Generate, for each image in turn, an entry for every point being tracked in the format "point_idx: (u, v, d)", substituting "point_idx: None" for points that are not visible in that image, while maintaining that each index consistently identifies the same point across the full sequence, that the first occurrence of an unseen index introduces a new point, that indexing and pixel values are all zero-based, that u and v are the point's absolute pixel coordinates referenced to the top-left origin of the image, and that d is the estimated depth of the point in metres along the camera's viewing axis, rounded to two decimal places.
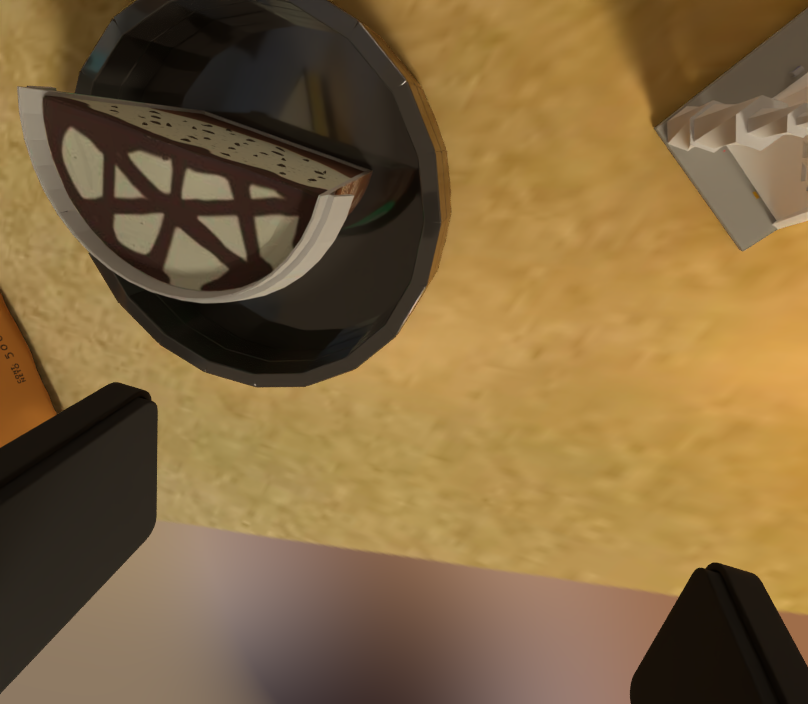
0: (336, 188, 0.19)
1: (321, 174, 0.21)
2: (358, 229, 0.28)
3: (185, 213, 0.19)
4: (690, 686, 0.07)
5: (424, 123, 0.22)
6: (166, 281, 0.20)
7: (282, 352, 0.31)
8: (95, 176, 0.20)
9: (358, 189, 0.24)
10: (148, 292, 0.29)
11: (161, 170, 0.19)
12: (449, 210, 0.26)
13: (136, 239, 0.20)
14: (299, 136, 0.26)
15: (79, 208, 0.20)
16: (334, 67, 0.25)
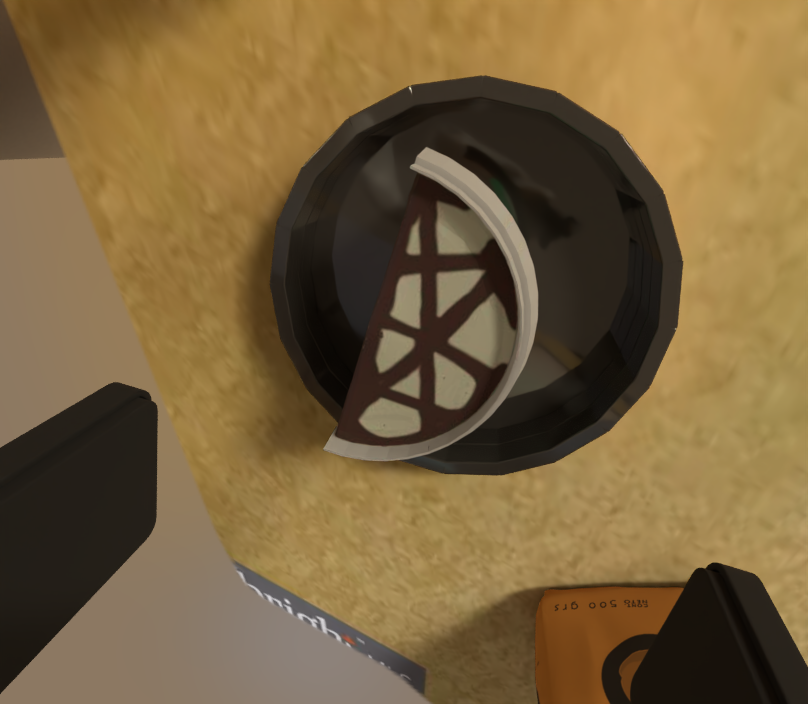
0: None
1: None
2: (501, 195, 0.26)
3: (434, 329, 0.19)
4: (690, 686, 0.07)
5: (384, 99, 0.22)
6: (504, 367, 0.19)
7: (642, 301, 0.26)
8: (400, 411, 0.21)
9: None
10: (550, 433, 0.27)
11: (392, 342, 0.19)
12: None
13: (460, 389, 0.20)
14: None
15: (428, 436, 0.21)
16: (352, 210, 0.27)
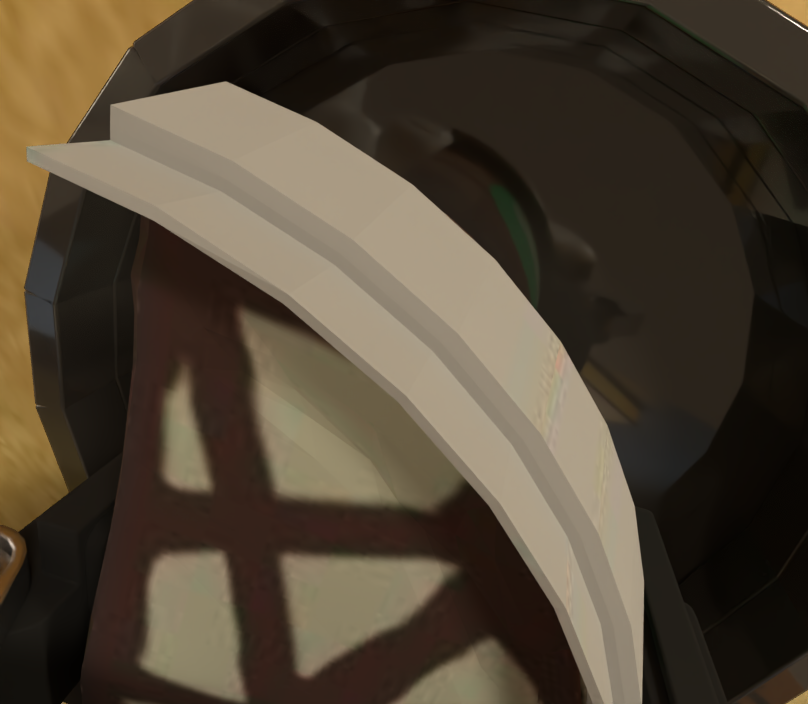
0: None
1: None
2: (510, 223, 0.12)
3: None
4: None
5: None
6: None
7: None
8: None
9: None
10: None
11: None
12: None
13: None
14: None
15: None
16: None
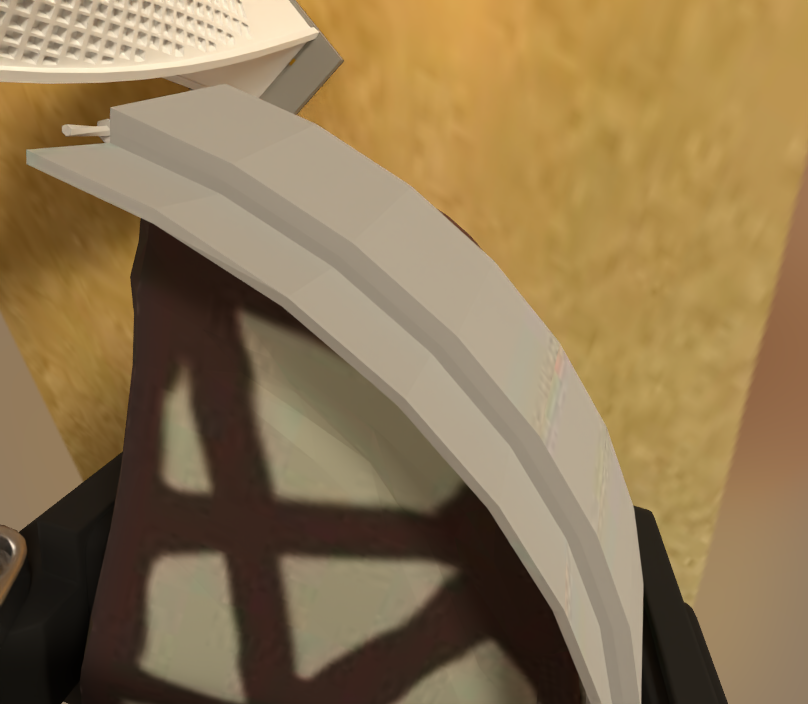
0: None
1: None
2: None
3: None
4: None
5: None
6: None
7: None
8: None
9: None
10: None
11: None
12: None
13: None
14: None
15: None
16: None
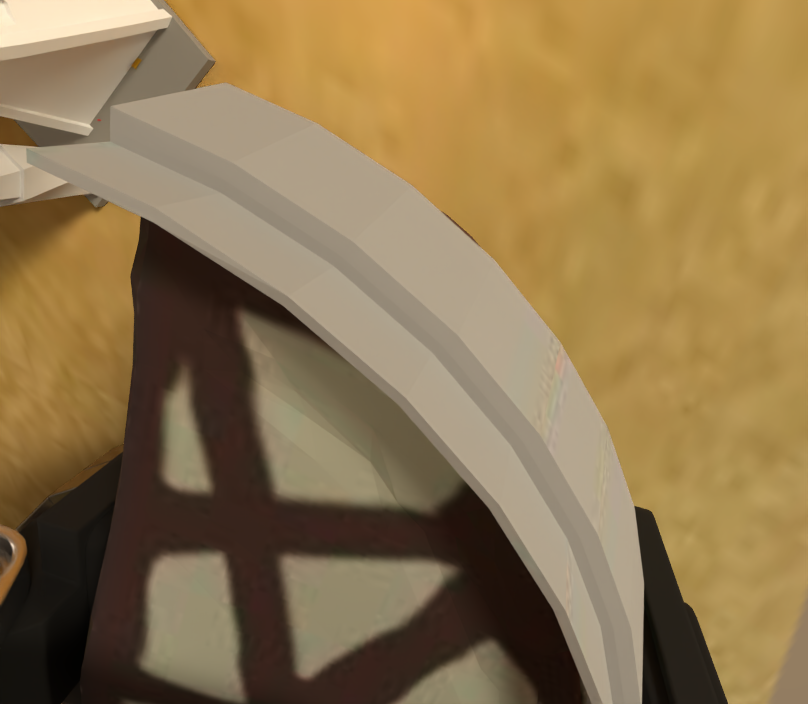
0: None
1: None
2: None
3: None
4: None
5: None
6: None
7: None
8: None
9: None
10: None
11: None
12: None
13: None
14: None
15: None
16: None
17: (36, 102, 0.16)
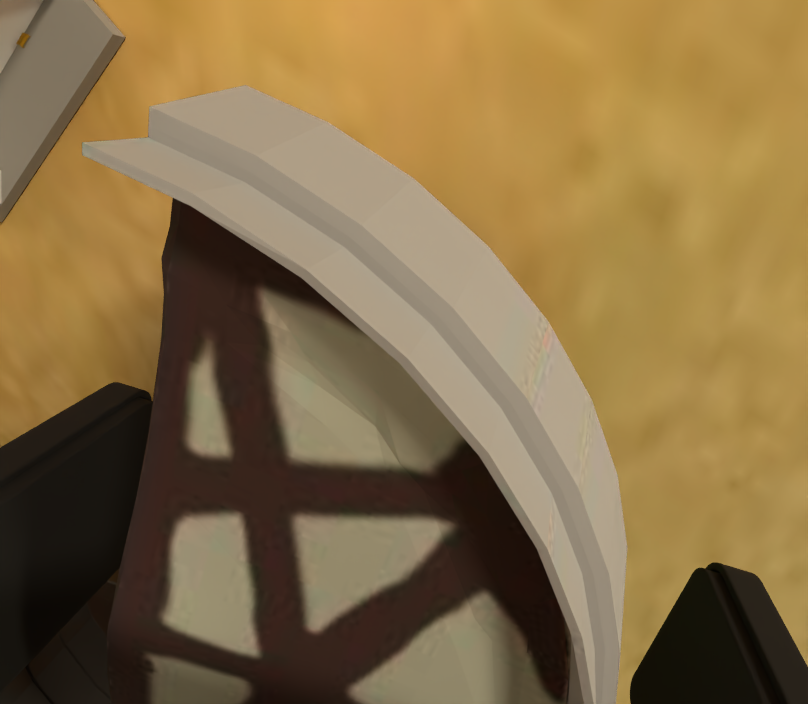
0: None
1: None
2: None
3: (304, 661, 0.06)
4: (690, 686, 0.07)
5: None
6: None
7: None
8: None
9: None
10: None
11: (184, 684, 0.06)
12: None
13: None
14: None
15: None
16: None
17: None
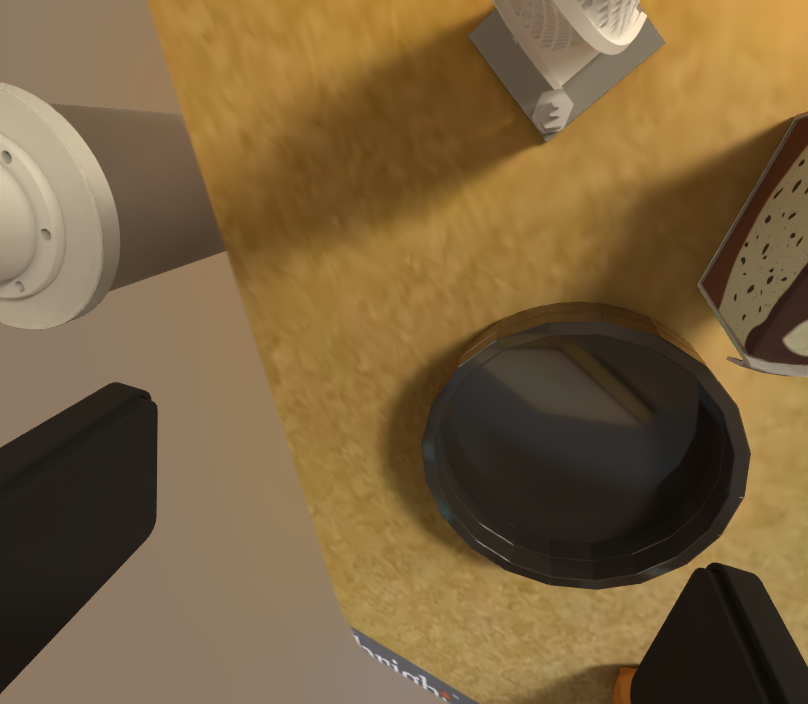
0: None
1: None
2: (602, 378, 0.33)
3: None
4: (690, 686, 0.07)
5: (526, 329, 0.29)
6: None
7: (713, 461, 0.33)
8: None
9: None
10: (636, 556, 0.35)
11: None
12: (595, 306, 0.31)
13: None
14: (524, 411, 0.35)
15: None
16: (481, 379, 0.35)
17: (561, 69, 0.26)
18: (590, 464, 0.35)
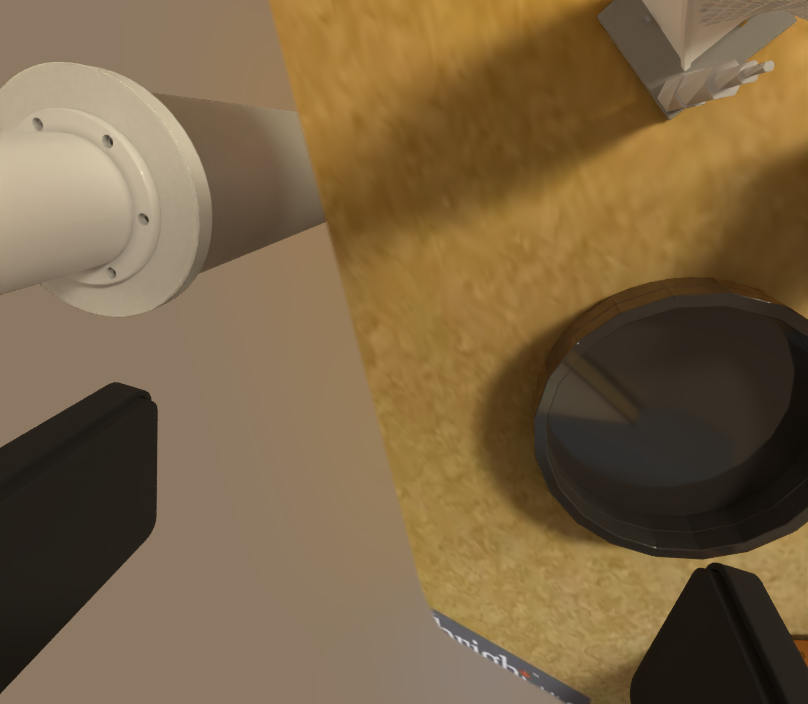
0: None
1: None
2: (710, 352, 0.34)
3: None
4: (690, 686, 0.07)
5: (651, 302, 0.30)
6: None
7: None
8: None
9: None
10: (739, 526, 0.36)
11: None
12: (710, 280, 0.32)
13: None
14: (628, 387, 0.36)
15: None
16: (586, 356, 0.36)
17: (698, 46, 0.27)
18: (692, 437, 0.36)
